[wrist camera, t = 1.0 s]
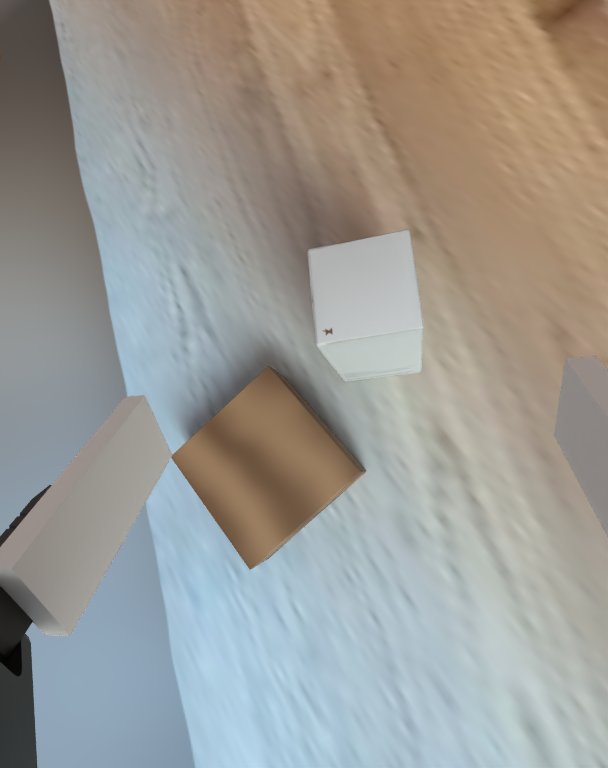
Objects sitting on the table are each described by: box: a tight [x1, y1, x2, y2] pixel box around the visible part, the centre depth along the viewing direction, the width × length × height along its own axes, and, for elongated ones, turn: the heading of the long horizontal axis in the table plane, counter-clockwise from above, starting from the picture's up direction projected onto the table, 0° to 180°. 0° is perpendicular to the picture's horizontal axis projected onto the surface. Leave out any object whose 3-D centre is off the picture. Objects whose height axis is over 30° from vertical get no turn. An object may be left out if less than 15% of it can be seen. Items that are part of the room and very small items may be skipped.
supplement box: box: [308, 230, 424, 382], centre depth 35 cm, size 7×7×13 cm
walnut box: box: [171, 366, 366, 569], centre depth 39 cm, size 12×12×5 cm
